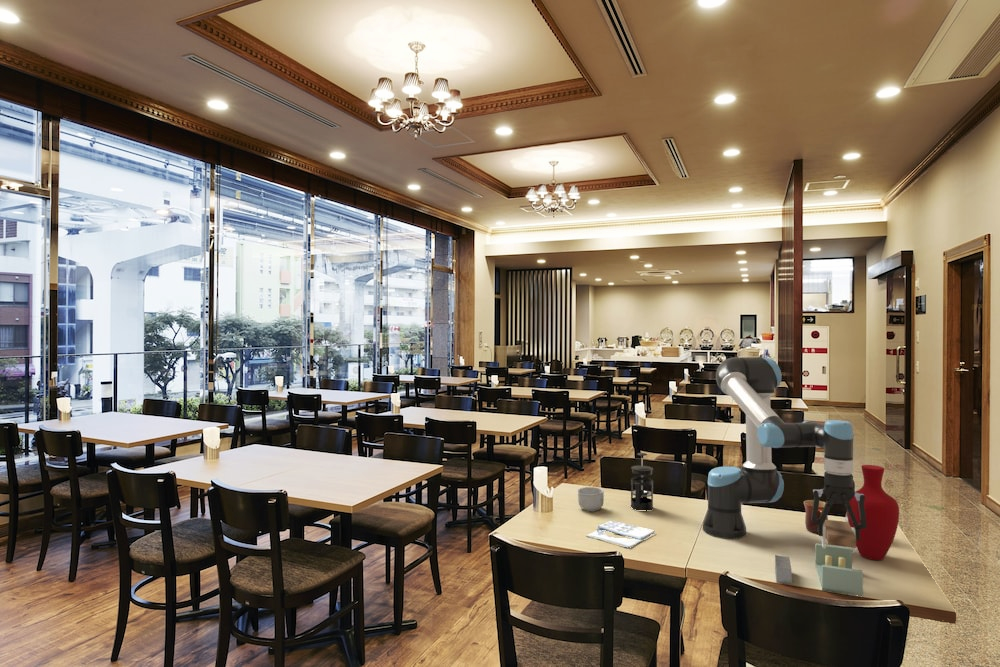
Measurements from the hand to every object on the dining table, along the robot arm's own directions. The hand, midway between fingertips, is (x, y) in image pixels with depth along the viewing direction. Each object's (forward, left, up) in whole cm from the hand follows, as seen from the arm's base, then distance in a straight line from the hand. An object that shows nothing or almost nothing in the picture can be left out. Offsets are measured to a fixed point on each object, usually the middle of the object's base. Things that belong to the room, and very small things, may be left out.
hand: (838, 548), depth 177 cm
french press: (-66, +47, -10) cm, 82 cm away
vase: (+13, +25, -10) cm, 30 cm away
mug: (-1, +44, -10) cm, 45 cm away
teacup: (-86, +39, -10) cm, 95 cm away
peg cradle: (0, 0, -10) cm, 10 cm away
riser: (-15, -4, -10) cm, 18 cm away
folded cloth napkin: (-68, +12, -10) cm, 70 cm away
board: (0, 0, +3) cm, 3 cm away
